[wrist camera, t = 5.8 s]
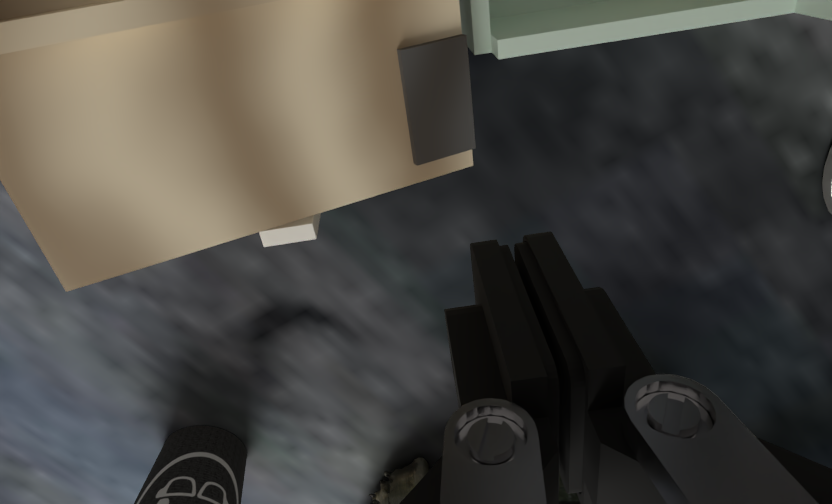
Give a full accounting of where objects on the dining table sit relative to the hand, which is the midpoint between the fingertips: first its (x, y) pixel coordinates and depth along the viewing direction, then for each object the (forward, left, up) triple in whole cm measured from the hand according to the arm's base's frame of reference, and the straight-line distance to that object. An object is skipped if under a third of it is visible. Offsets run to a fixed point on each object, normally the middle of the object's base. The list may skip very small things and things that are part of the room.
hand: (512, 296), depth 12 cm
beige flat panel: (+8, -5, -13) cm, 16 cm away
